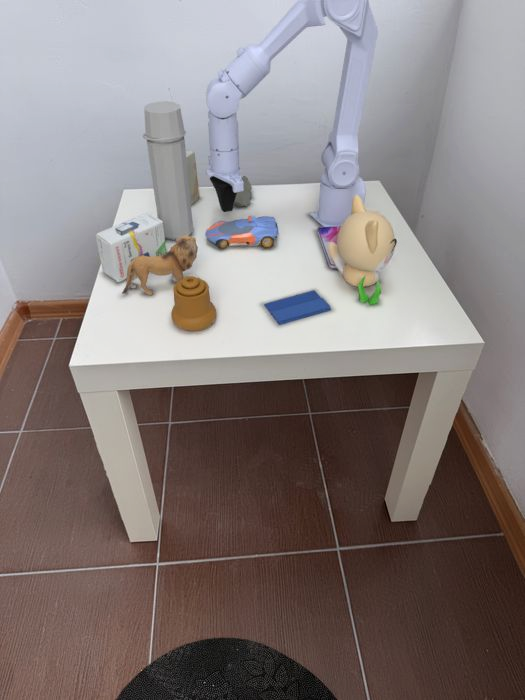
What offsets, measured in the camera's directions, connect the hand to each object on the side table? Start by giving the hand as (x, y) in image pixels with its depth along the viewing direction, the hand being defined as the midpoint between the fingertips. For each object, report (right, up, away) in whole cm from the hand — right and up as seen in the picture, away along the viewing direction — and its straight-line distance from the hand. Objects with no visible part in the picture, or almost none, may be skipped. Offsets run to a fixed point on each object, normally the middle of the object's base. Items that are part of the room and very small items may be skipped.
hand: (226, 210), depth 109 cm
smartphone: (+23, -9, -6) cm, 26 cm away
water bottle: (-11, -5, -1) cm, 12 cm away
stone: (+1, +8, +11) cm, 13 cm away
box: (-10, +5, +10) cm, 15 cm away
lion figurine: (-10, -18, -15) cm, 26 cm away
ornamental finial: (-4, -25, -23) cm, 34 cm away
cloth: (+14, -23, -20) cm, 33 cm away
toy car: (+3, -7, -3) cm, 9 cm away
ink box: (-12, -8, -11) cm, 18 cm away
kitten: (+26, -18, -14) cm, 34 cm away
